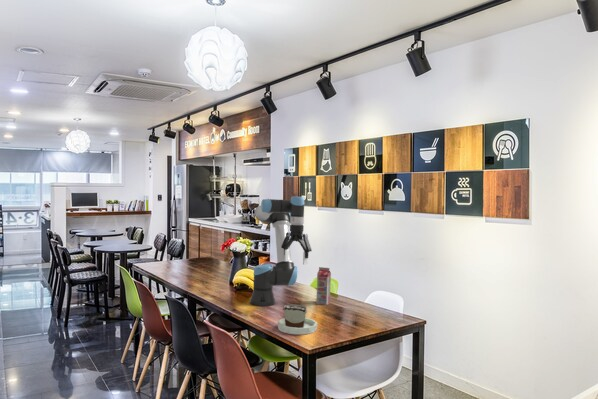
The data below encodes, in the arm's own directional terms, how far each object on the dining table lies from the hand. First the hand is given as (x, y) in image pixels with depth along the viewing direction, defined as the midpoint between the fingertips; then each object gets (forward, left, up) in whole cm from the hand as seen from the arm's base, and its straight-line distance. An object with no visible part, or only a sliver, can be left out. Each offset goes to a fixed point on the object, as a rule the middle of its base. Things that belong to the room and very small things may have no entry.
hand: (295, 262), depth 238 cm
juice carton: (-5, +33, -29) cm, 44 cm away
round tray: (+18, -18, -29) cm, 38 cm away
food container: (+17, -18, -28) cm, 37 cm away
